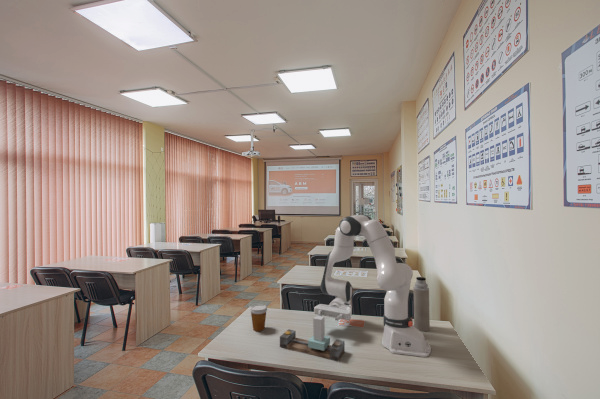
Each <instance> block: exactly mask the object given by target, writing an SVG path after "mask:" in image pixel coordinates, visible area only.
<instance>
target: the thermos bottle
mask: <svg viewBox="0 0 600 399" xmlns="http://www.w3.org/2000/svg"><path fill="white" fill-rule="evenodd" d="M415 278H416V282H415V283H414V286H413V289H412V290H413V326H415V327H416V328H417V329H418V330H419V331H421V332H429V331H430V329H431V328H430V289H429V286H428V283H427V282H426V281H427V279H426V277H423V276H422V277H421V276H417V277H415Z"/></svg>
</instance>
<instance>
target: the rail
mask: <svg viewBox="0 0 600 399" xmlns="http://www.w3.org/2000/svg"><path fill="white" fill-rule="evenodd" d="M296 336H297V334H296V330H293V329H290V328H289V329H287V330H286V331H284V333H282V334H281V335H280V336H279V347H280V348H283V349H286V350H287V349H288V350H292V351H296V352H299V353H303V354H308V355H311V356H315V357H320V358H324V359H328V360H332V361H336V362H339V361H340V360H341V358H342V356H343V355H344V354H345V350H346V349H345V345H346V344H345V340H341V339H337V338H336V339H335V341H333V343H332V344H329V345H328V346H327V348H326V349H325V350H324V351H322V350H318V349H314V348H310V347H308V340H309V339H303V338H300V337H296Z"/></svg>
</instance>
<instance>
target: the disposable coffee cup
mask: <svg viewBox="0 0 600 399" xmlns="http://www.w3.org/2000/svg"><path fill="white" fill-rule="evenodd" d="M249 311H250V316H251V323H252V329H253V331H255V332H262V331H264V330H265V327H266V326H265V325H266V320H267V319H266V317H267V312H268V308H267V305H265V304H255V305H252V306H251V307H250V310H249Z"/></svg>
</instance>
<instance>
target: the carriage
mask: <svg viewBox="0 0 600 399" xmlns="http://www.w3.org/2000/svg"><path fill="white" fill-rule="evenodd" d="M312 319H313V328H312V329H313V335H312V336H311V337H310V338H309V339H307V340H308V347H310V348H314V349H318V350H322V351H324V350H325V349H326V348H327V346H328V345H331V337H330V336H328V335H326V334H325V331H326V330H325V316H323V315H322V316H318V315H315V316H314V317H313V318H312Z"/></svg>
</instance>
